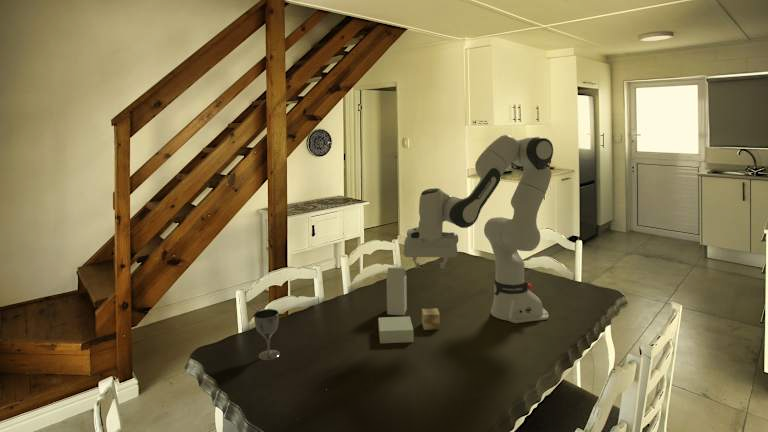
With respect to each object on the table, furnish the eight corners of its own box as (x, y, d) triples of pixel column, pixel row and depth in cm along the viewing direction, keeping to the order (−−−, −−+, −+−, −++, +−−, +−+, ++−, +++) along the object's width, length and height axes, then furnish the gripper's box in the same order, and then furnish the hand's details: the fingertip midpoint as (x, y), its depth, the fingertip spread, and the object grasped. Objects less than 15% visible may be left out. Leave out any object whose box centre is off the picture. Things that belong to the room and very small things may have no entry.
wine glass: (269, 347, 164) (267, 307, 162) (285, 353, 160) (283, 312, 157) (252, 356, 158) (248, 315, 155) (268, 363, 153) (265, 320, 151)
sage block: (409, 328, 178) (409, 316, 177) (413, 342, 167) (413, 329, 166) (378, 329, 178) (378, 317, 177) (380, 344, 166) (379, 331, 165)
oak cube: (437, 322, 183) (437, 308, 181) (439, 329, 177) (439, 314, 176) (422, 323, 182) (421, 308, 181) (423, 329, 176) (423, 314, 175)
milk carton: (404, 315, 190) (403, 271, 186) (387, 314, 191) (386, 270, 188) (406, 309, 197) (406, 265, 193) (390, 308, 198) (389, 265, 194)
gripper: (457, 230, 176) (456, 265, 179) (403, 230, 177) (403, 265, 179) (459, 234, 170) (458, 270, 173) (403, 234, 170) (403, 270, 173)
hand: (429, 268), depth 176 cm, fingers open, 8 cm apart
